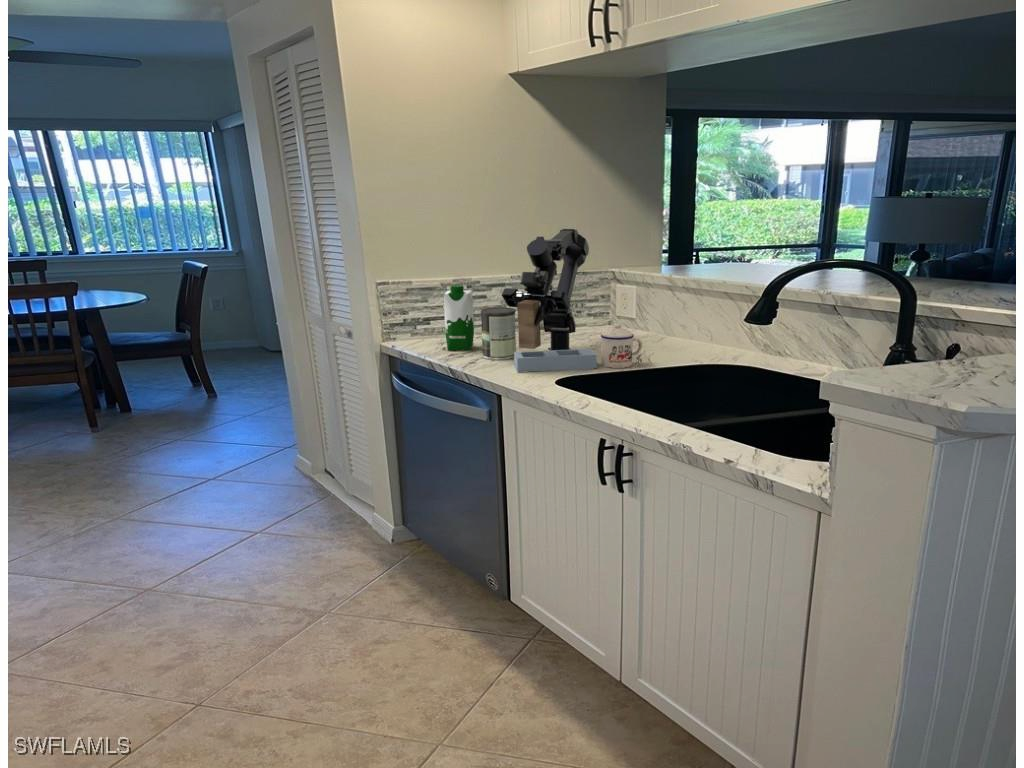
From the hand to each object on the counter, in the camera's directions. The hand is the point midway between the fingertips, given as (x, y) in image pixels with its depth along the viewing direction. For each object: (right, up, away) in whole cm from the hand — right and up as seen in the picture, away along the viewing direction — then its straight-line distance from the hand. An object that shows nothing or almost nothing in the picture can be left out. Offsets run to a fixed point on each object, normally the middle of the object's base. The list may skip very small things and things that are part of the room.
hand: (527, 324), depth 209 cm
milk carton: (-20, -5, +34) cm, 40 cm away
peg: (+1, -6, +3) cm, 7 cm away
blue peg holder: (+8, -12, +6) cm, 15 cm away
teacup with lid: (+27, -11, +8) cm, 30 cm away
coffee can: (-8, -8, +22) cm, 24 cm away
